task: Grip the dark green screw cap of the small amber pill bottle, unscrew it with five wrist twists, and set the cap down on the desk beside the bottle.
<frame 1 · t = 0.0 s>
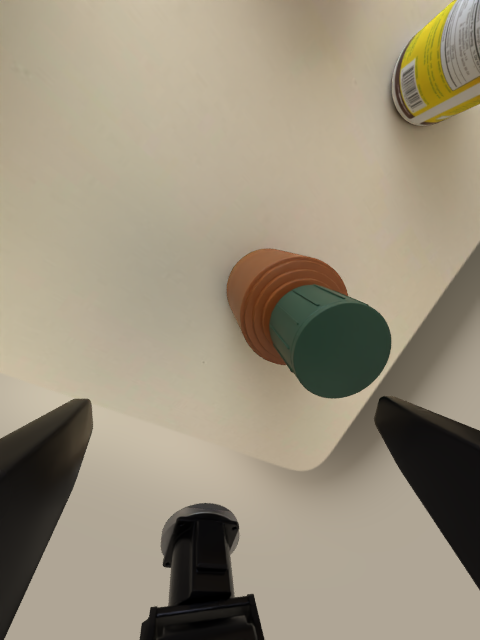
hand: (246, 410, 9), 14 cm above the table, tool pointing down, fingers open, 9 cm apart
supplement bottle: (421, 84, 20), on the table
bottle: (266, 289, 22), on the table
cap: (339, 350, 11), point 12 cm above the table, screwed on, not yet turned
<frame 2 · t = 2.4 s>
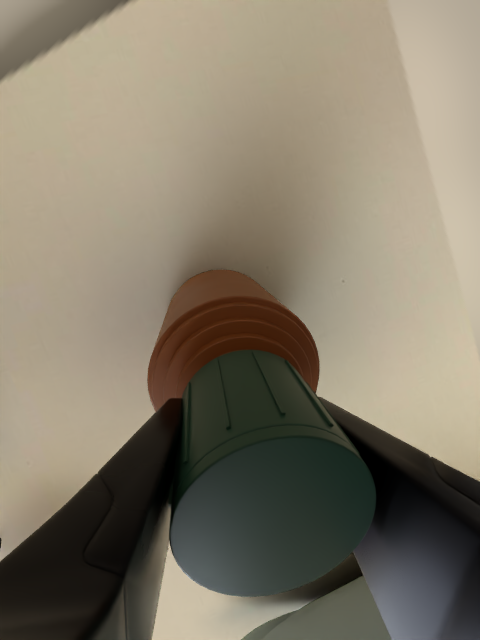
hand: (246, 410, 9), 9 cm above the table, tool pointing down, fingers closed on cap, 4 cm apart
grey bowl: (339, 619, 28), on the table
bottle: (221, 322, 17), on the table
cap: (273, 510, 6), point 12 cm above the table, screwed on, not yet turned, touching gripper
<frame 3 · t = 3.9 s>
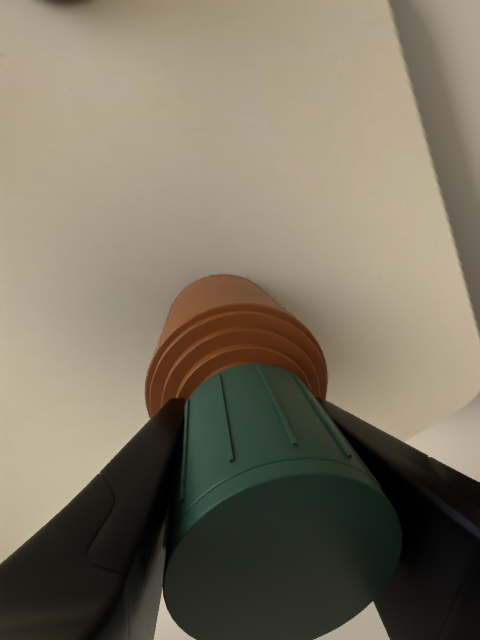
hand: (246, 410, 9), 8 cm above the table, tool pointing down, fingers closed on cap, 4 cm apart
bottle: (223, 329, 16), on the table, touching gripper
cap: (283, 553, 5), point 12 cm above the table, turned 89° so far, risen 0.1 cm, still on its thread, touching gripper
when the fingers open (2 cm above the table, at t = 26.4 s): cap drops 2 cm, point 3 cm above the table.
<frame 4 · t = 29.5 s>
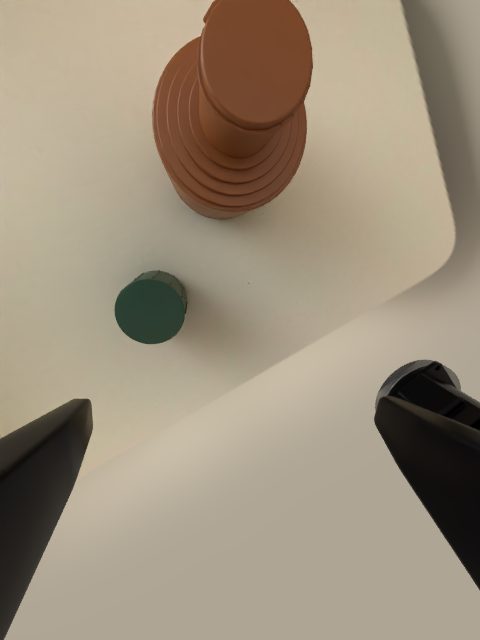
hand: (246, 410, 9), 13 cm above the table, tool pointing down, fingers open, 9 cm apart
bottle: (219, 166, 18), on the table
cap: (151, 311, 17), point 3 cm above the table, off its thread
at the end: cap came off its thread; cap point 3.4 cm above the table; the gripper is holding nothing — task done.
